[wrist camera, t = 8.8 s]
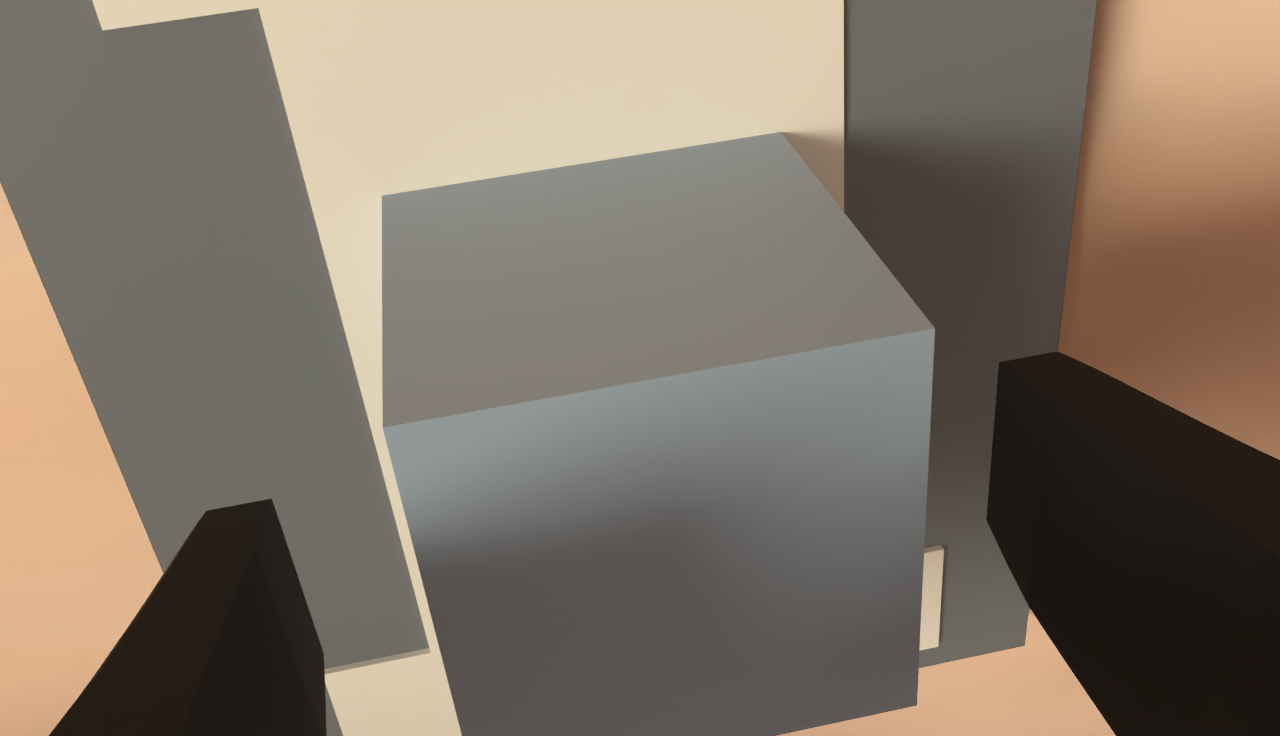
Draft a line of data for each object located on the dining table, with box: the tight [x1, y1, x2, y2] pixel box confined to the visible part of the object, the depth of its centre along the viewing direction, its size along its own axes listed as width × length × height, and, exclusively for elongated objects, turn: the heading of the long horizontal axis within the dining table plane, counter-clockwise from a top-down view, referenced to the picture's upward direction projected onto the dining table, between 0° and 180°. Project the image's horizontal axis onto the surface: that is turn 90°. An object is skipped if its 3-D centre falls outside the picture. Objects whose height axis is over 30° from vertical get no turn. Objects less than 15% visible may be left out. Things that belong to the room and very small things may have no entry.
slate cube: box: [382, 132, 935, 736], centre depth 13 cm, size 4×4×4 cm
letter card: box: [0, 0, 1097, 736], centre depth 15 cm, size 12×14×1 cm
